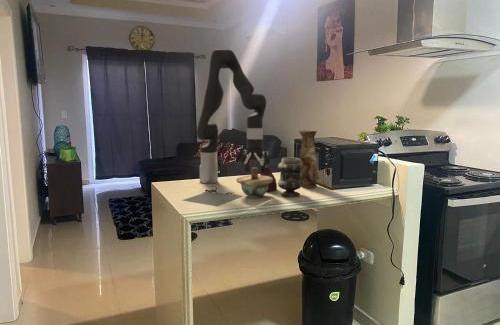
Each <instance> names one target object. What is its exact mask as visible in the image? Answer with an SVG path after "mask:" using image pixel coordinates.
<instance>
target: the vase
mask: <svg viewBox="0 0 500 325" xmlns="http://www.w3.org/2000/svg"><path fill="white" fill-rule="evenodd" d="M298 132H299V134H300V136H301V149H300V158H299V160H300V163H301V164H302V165H303V168H302V169H301V170H300V180H301V181H302V182H303V185H302V187H301V188H306V189H312V188H313V189H315V188H317V187H318V185H317V182H318V179H319V167H318V158H317V152H316V143H315V136H316V134H317V132H318V130H317V129H312V130H311V129H308V130H307V129H300V130H298Z"/></svg>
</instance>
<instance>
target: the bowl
mask: <svg viewBox="0 0 500 325" xmlns="http://www.w3.org/2000/svg"><path fill="white" fill-rule="evenodd" d="M240 186H241V190H242V192H243V194H244V195H245V196H247V197H248V198H251V199H259V198H262V197H263V196H264V195H266V193H268V192H267V190H268V186H269V184H264V185H245V184H240Z"/></svg>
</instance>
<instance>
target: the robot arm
mask: <svg viewBox="0 0 500 325" xmlns="http://www.w3.org/2000/svg"><path fill="white" fill-rule="evenodd" d="M209 61H210V62H209V71H208V78H207V84H206V89H205V93H204V98H203V99H204V100H203V104H202V105H203V106H202V110H201V114H200V117H199V120H198V123H197V128H196V137H197V138H198V140H201V141H205V140H206V141H208V142H207V143H206V144H204V145H202V146H200V151H199V152H200V165H199V168H198V169H199V182H200V183H201V184H216V183H218V181H219V179H218V177H219V176H218V175H219V174H218V145H219V127H218V125H217V123H216V122H209V121H210V119H211V118H212V116H213V115H214V114H215V113H216V112H217V111H218V110H219V108H220V107H221V106H222V103H223V99H224V89H223V87H222V84H221V82H220V78H219V77H220V71H221V69H229V70H230V71H231V72H232V73H233V75H232V83H233V86H234V87H235V89H236V91H237V92H238V93H239V95H240V99H241V102H242V105H243V106H244V108H245V109H247V110H251V111H253V113H252V114H250V115H247V118H246V119H247V120H246V126H247V128H246V149H242V150H240V162H241V163H243V164H244V171H245V173H249V172H250V162H251V161H252V160H255V161H258V163H260V173H261V174H263V173H264V172H265V166H266V165H269V164H270V151H268V150H267V151H265V150H264V149H263V148H264V132H263V131H264V130H263V119H264V114H265V111H266V107H267V99H266V97H265V95H263V94H262V93H254V90H255V88H254V86H253V84H252V82H251V81H250V80H249V79H248V77H247V76H246V75H245V73H244V71H243V69H242V66H241V64H240V62H239V60H238V58H237V56H236V54H235V53H234V51H233V50H231V49H229V48H228V49H227V48H216V49H214V50H212V52H211V55H210V60H209Z"/></svg>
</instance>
